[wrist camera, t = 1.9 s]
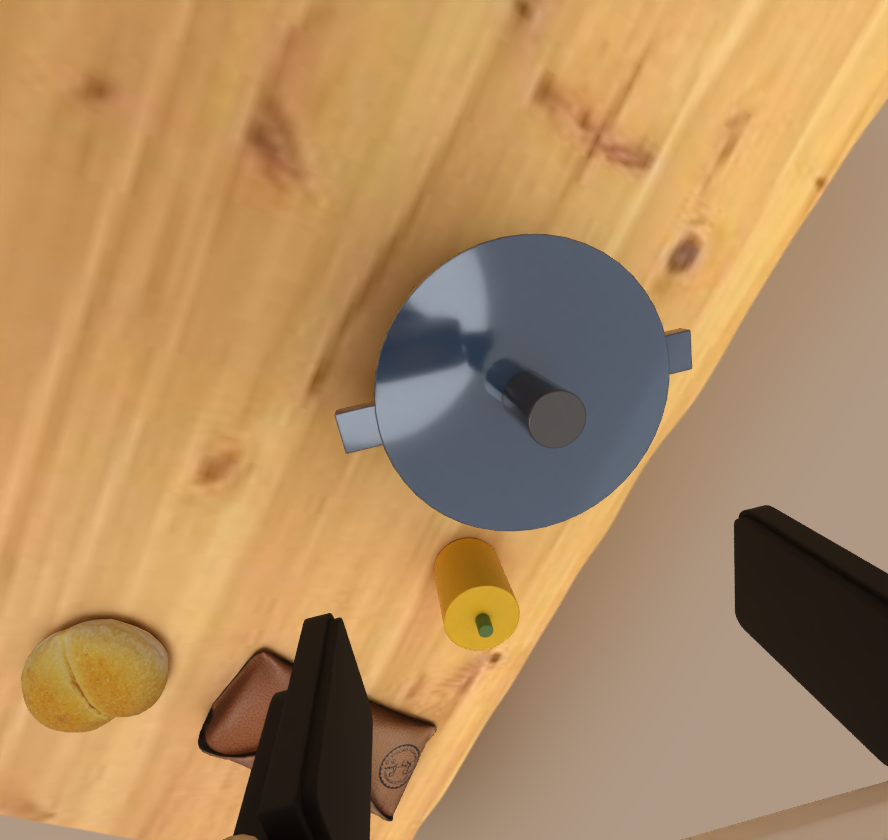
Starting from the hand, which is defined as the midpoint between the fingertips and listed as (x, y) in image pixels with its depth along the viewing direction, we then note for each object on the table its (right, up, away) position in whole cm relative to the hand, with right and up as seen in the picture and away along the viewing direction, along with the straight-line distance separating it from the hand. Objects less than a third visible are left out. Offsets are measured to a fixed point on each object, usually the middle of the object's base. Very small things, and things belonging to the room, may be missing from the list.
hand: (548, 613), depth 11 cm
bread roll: (-28, -14, +25) cm, 40 cm away
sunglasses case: (-12, -21, +29) cm, 38 cm away
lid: (+2, +6, +15) cm, 17 cm away
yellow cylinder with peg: (-1, -7, +26) cm, 27 cm away
